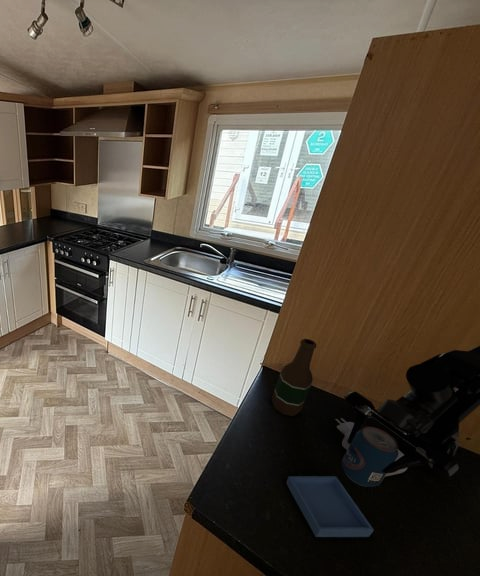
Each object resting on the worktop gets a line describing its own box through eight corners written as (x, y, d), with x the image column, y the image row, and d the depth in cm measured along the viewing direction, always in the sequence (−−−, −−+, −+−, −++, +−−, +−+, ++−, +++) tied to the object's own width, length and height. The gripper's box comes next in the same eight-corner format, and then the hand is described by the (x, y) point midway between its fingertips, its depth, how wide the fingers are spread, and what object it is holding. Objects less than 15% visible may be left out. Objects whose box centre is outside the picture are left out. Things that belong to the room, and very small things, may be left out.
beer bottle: (265, 397, 97) (286, 334, 87) (288, 395, 98) (312, 332, 87) (281, 418, 90) (306, 351, 80) (306, 415, 91) (334, 349, 80)
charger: (349, 422, 89) (404, 472, 76) (321, 427, 88) (373, 479, 74) (355, 410, 87) (413, 459, 74) (327, 415, 85) (381, 466, 72)
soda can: (333, 457, 73) (351, 421, 68) (367, 462, 72) (388, 426, 67) (349, 487, 67) (370, 450, 62) (386, 493, 66) (411, 456, 60)
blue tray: (332, 483, 73) (336, 476, 72) (369, 537, 64) (374, 530, 62) (285, 483, 73) (288, 476, 72) (315, 537, 64) (319, 530, 62)
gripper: (365, 362, 68) (313, 412, 70) (483, 430, 52) (412, 493, 54) (375, 380, 74) (327, 426, 76) (484, 447, 58) (420, 503, 60)
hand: (365, 457), depth 66 cm, fingers closed on soda can, 7 cm apart
